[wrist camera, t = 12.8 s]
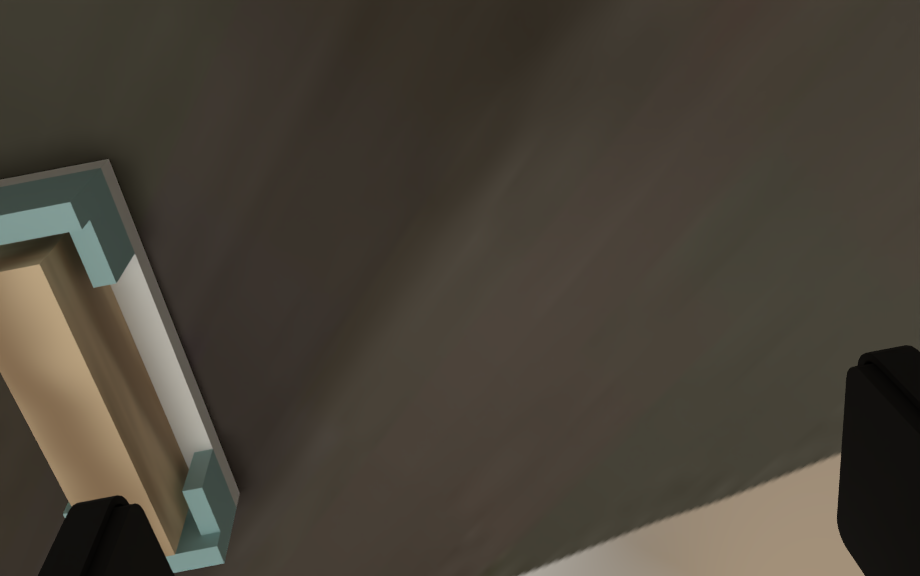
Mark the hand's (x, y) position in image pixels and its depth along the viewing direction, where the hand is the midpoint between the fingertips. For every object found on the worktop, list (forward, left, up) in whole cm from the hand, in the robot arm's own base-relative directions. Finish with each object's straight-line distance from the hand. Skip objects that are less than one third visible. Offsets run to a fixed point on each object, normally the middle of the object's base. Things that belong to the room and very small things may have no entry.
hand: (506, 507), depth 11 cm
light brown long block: (+18, +12, -27) cm, 35 cm away
